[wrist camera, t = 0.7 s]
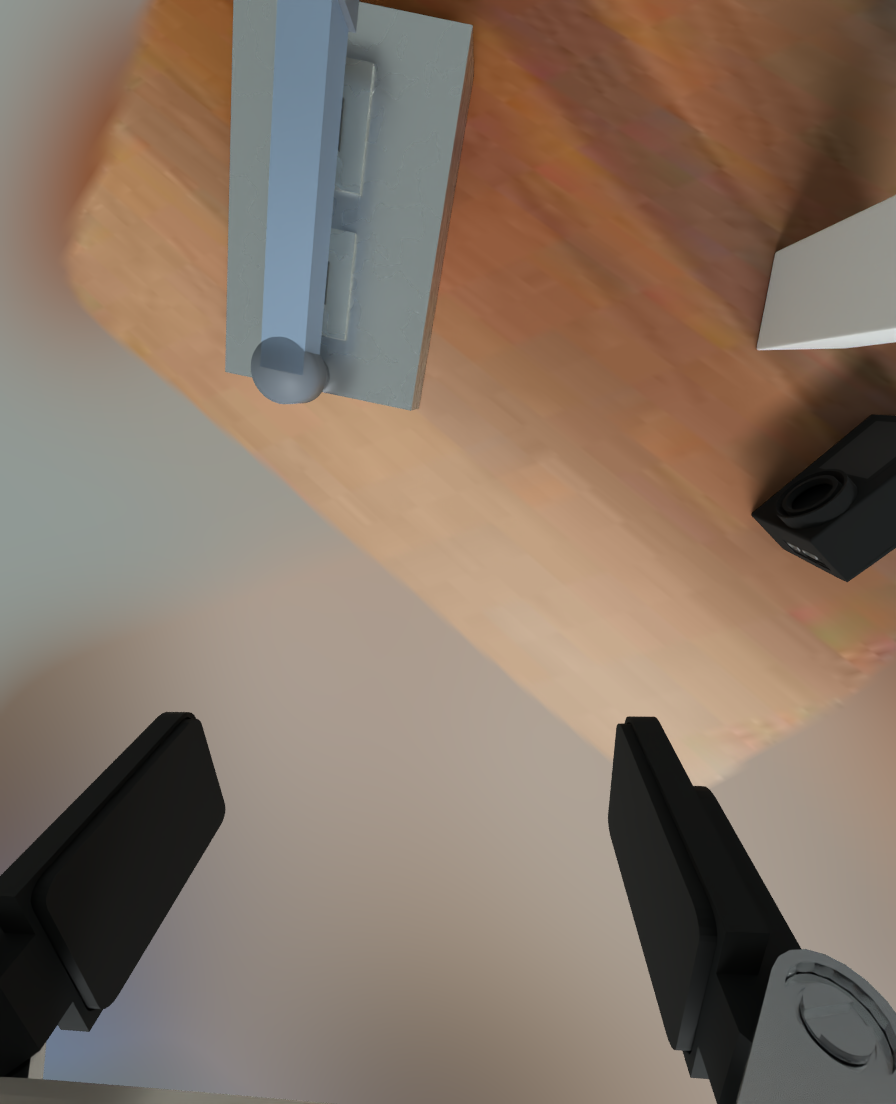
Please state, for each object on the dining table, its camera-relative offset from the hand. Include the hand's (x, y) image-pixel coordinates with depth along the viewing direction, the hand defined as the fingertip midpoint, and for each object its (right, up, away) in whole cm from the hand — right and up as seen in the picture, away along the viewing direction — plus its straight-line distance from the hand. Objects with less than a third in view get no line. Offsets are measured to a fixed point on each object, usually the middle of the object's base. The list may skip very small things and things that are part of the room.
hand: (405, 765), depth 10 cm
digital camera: (+29, +10, +25) cm, 40 cm away
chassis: (-6, +26, +21) cm, 34 cm away
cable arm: (-7, +24, +15) cm, 29 cm away
